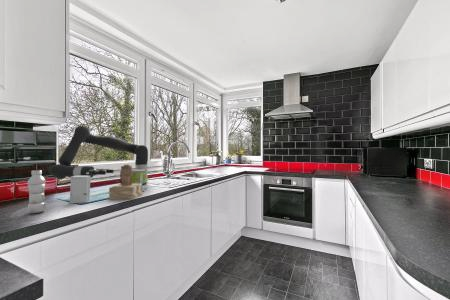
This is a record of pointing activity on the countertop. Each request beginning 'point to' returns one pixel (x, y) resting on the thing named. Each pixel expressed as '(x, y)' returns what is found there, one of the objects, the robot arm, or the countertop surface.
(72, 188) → the skincare box
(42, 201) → the plastic bottle
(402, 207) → the countertop surface
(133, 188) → the plinth
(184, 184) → the countertop surface
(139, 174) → the tea box
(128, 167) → the walnut block
